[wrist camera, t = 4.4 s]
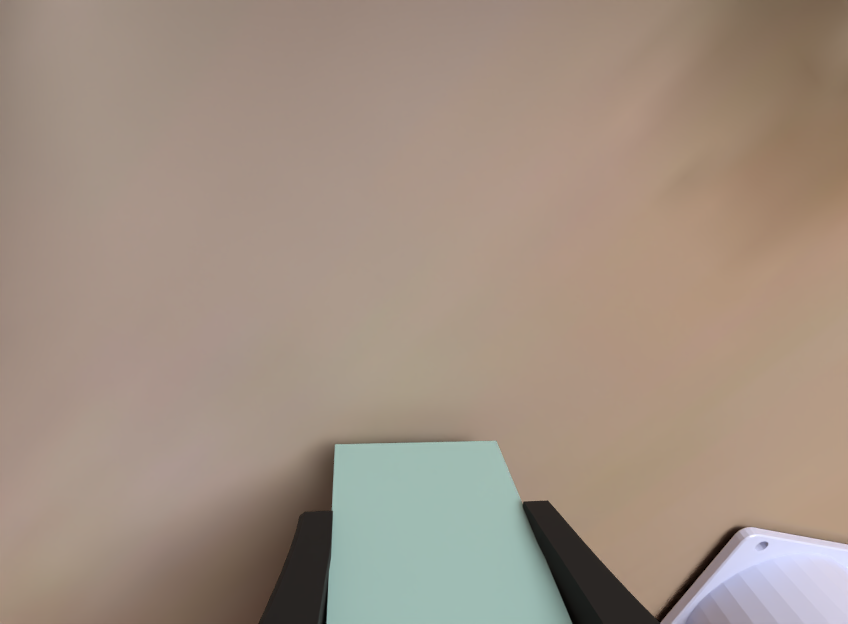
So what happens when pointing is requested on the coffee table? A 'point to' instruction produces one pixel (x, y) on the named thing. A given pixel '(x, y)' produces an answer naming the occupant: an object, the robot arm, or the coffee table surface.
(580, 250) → the coffee table surface
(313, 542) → the robot arm
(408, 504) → the domino
